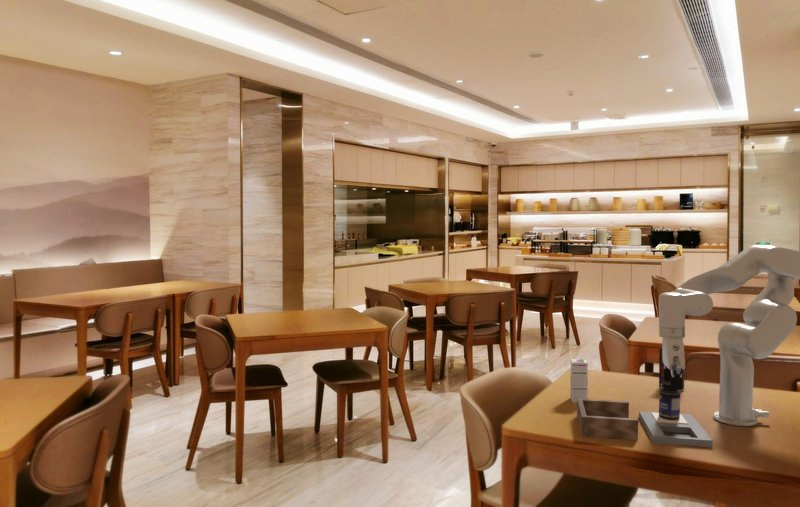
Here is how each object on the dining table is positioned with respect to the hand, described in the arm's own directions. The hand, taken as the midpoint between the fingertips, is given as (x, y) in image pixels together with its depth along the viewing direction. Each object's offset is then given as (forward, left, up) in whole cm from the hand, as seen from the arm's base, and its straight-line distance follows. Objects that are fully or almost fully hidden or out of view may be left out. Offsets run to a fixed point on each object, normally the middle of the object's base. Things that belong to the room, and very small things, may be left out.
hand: (672, 385), depth 195 cm
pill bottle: (+1, 0, -11) cm, 11 cm away
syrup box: (+27, -21, -13) cm, 36 cm away
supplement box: (-9, -44, -13) cm, 46 cm away
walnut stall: (+21, +7, -13) cm, 26 cm away
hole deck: (+1, +6, -13) cm, 14 cm away
